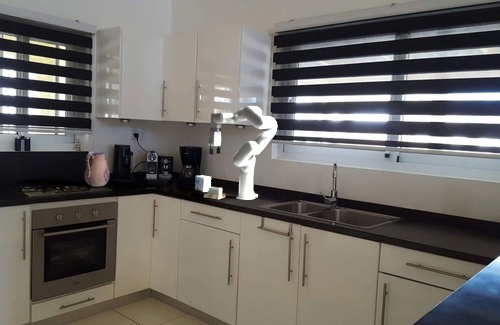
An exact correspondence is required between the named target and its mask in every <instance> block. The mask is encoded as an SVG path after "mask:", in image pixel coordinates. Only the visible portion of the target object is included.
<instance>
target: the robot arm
mask: <svg viewBox="0 0 500 325" xmlns="http://www.w3.org/2000/svg"><path fill="white" fill-rule="evenodd" d="M246 121H247V122H248V123H249V124H250V125H252V126H253V127H254V128H256V129H259V130H262V131H260V133H258V135H257V136H256V137H255V138H254V139H253V140H247V141H245V142H243V143H242V144H241V145H240V147H239V148H238V149H237V151H236V152H235V154H234V155H233V158H232V163H233V165H234V166H235V167H237V168H240V169H239V180H238V181H239V184H238V195H236V199H238V200H246V201H247V200H249V201H250V200H254V199H256V198H258V196H259V195H258V193H255V191H254V173H255V171H254V170H255V165H256V155H257V156H258V155H260V154H261V152H262V151H263V150H264V149H265V148H266V147H267V145H269V143H270V142H271V140H272V139H273V138H274V136H275V135H276V134H277V129H278V124H277V123H278V122H277V121H276V119H275V118H274V117H272V116H269V115H262V109H261V108H260V107H259V106H255V105H247V106H245V107H243V108H239V109H238V110H237V111H236V112H211V115H210V132H209V135H208V136H209V137H208V143H207V144H208V150H209V151H208V153H209V155H211V156H212V155H214V152H215V151H214V150H215V149H214V148H215V147H216V152H215V153H216V154H219V155H221V152H222V151H221V150H222V146H223V145H222V144H223V141H222V124H229V125H231V124H239V123H242V122H246Z"/></svg>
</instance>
